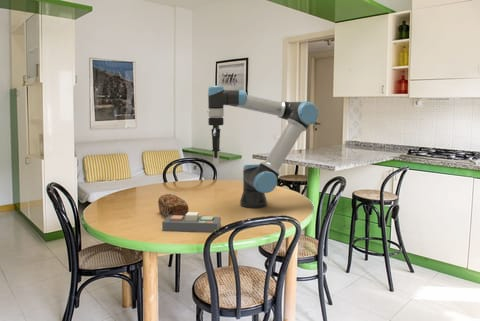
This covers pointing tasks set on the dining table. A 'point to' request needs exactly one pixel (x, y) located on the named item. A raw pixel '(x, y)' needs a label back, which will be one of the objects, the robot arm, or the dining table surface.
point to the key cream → (192, 216)
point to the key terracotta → (176, 218)
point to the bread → (172, 205)
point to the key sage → (207, 218)
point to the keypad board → (191, 225)
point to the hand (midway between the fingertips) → (216, 164)
